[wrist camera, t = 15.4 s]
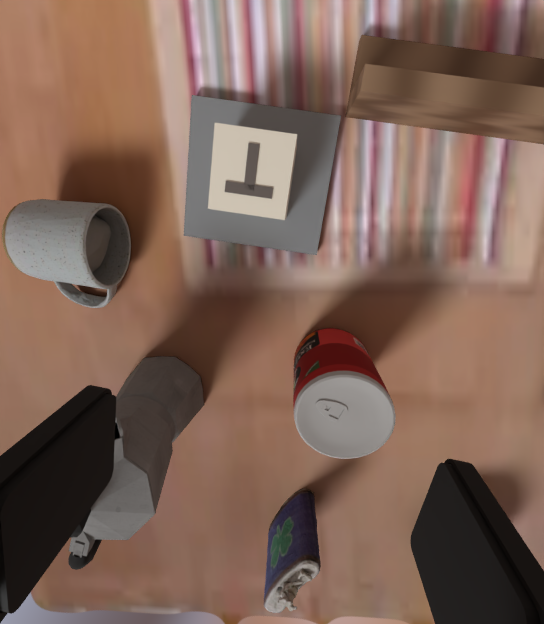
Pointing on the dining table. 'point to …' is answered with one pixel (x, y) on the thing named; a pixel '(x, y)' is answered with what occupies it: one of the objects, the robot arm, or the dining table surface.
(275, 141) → the marked cube
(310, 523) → the flask
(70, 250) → the ceramic mug
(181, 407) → the coffeepot
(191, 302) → the dining table surface
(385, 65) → the walnut screen
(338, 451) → the canned food
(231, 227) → the slate mat
